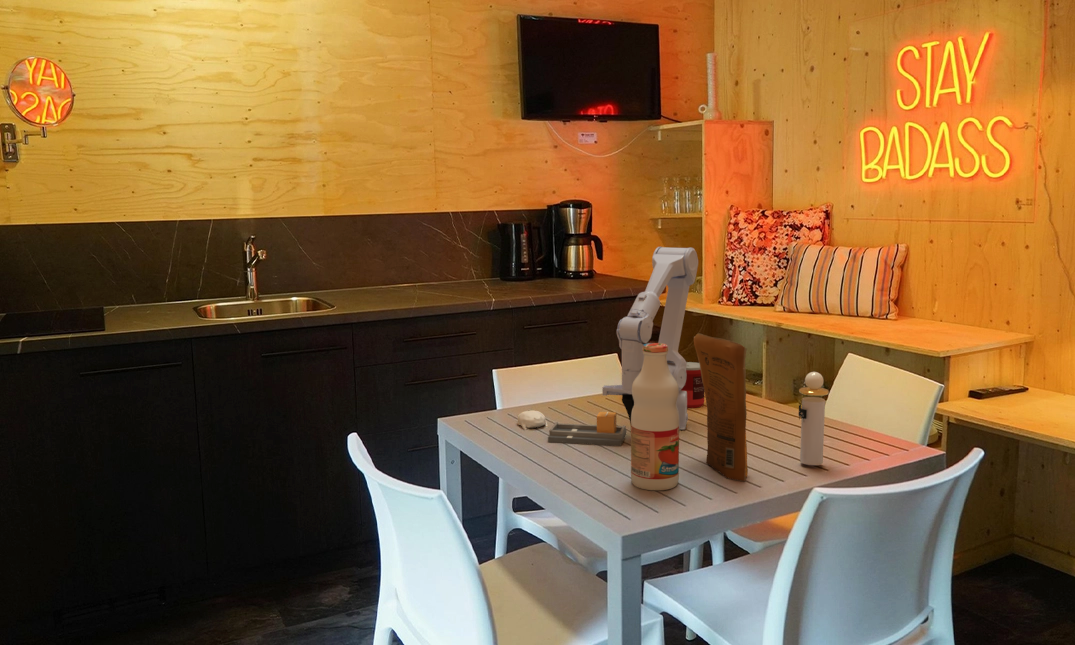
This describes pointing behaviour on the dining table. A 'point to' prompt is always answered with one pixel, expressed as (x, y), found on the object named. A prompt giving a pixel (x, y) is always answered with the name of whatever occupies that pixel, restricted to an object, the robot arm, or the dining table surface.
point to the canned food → (694, 385)
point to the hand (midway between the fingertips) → (634, 426)
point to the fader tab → (606, 422)
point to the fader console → (585, 434)
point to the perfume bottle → (812, 420)
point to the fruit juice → (655, 423)
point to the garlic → (531, 419)
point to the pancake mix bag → (724, 404)
